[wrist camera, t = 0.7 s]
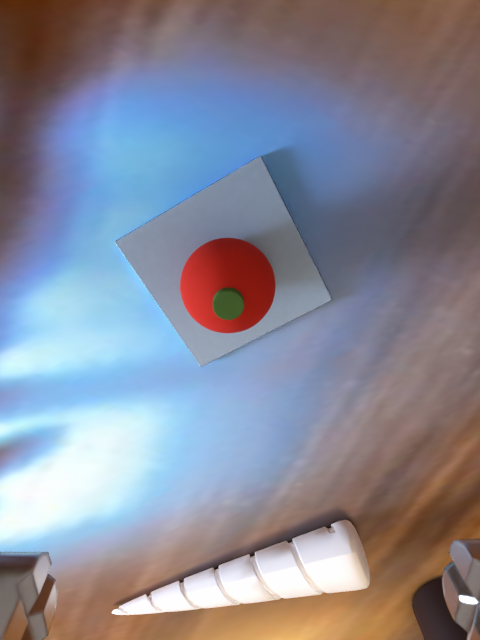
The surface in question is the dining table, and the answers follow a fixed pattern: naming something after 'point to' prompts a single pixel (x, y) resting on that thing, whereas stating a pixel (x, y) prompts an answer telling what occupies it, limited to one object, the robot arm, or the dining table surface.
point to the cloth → (226, 222)
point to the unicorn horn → (269, 574)
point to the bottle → (436, 614)
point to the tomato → (227, 285)
